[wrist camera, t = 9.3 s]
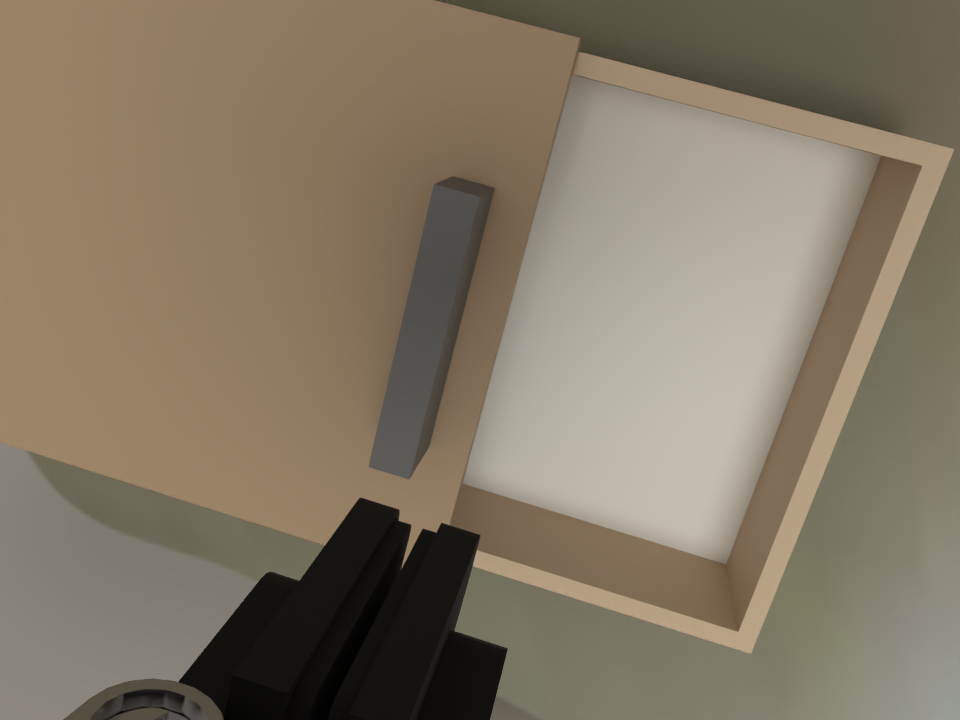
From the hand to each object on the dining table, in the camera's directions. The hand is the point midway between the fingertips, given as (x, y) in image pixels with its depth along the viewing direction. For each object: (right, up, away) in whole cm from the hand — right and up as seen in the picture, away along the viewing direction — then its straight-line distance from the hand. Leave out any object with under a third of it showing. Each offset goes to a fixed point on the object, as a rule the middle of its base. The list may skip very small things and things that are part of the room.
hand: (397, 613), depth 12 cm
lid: (-8, +7, +16) cm, 19 cm away
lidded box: (+3, +6, +20) cm, 21 cm away
